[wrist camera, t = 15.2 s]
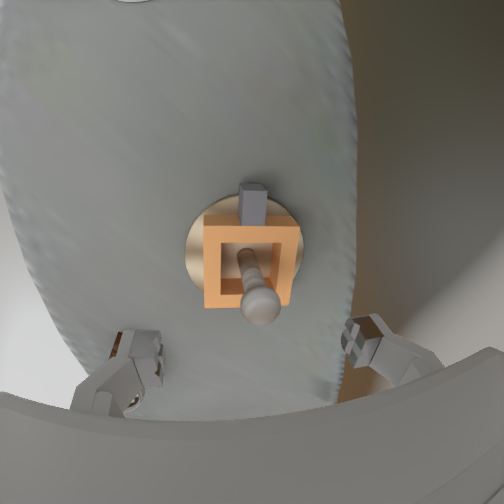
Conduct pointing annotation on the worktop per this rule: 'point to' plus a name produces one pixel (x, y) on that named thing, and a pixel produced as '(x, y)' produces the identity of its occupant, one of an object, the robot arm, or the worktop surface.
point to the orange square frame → (248, 231)
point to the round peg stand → (241, 262)
